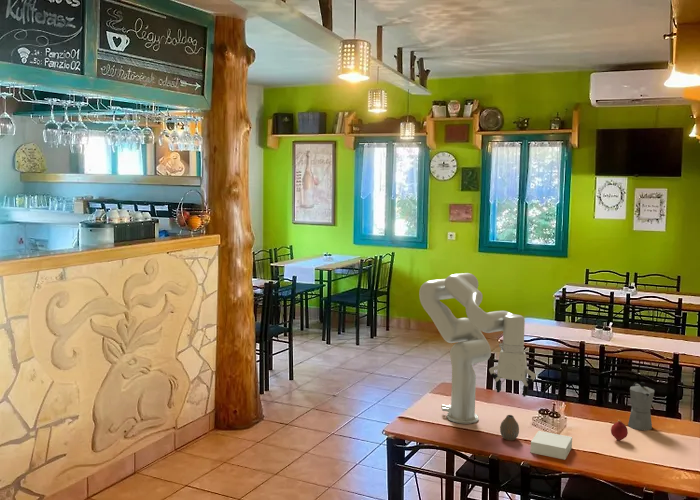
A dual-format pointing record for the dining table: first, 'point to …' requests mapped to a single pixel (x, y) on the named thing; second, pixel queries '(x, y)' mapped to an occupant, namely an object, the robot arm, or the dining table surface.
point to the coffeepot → (640, 407)
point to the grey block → (551, 445)
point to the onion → (619, 430)
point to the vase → (509, 428)
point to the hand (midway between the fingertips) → (511, 393)
